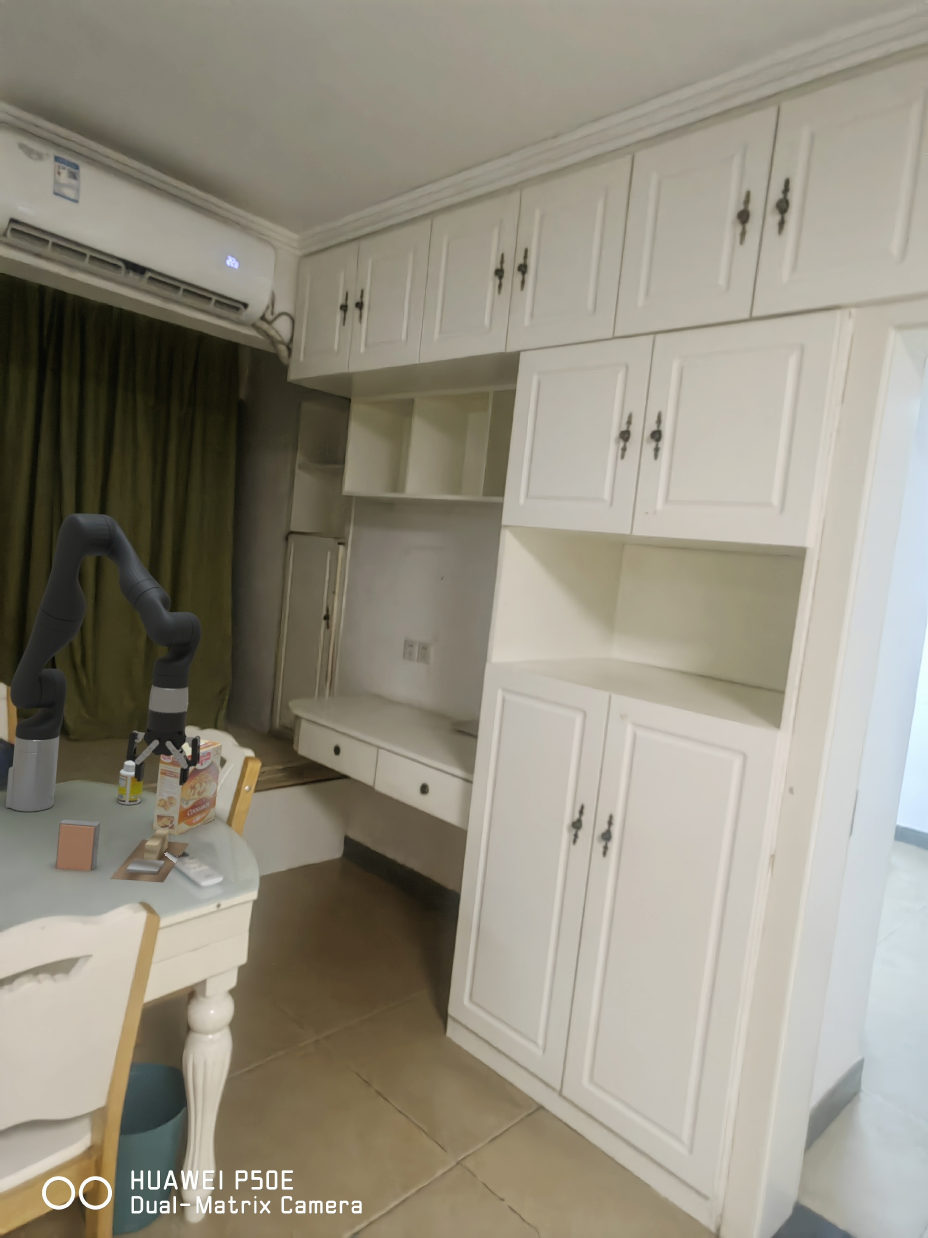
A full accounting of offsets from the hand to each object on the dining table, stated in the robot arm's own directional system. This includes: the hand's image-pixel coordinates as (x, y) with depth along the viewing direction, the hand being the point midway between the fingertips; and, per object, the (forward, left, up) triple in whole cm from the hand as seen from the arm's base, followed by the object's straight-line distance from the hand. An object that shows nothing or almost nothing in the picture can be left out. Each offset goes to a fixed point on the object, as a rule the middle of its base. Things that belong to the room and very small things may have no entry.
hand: (161, 782), depth 157 cm
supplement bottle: (-16, +34, -17) cm, 41 cm away
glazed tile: (-13, -7, -17) cm, 23 cm away
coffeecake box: (+1, +21, -17) cm, 27 cm away
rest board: (0, -1, -17) cm, 17 cm away
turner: (0, -1, -16) cm, 16 cm away
